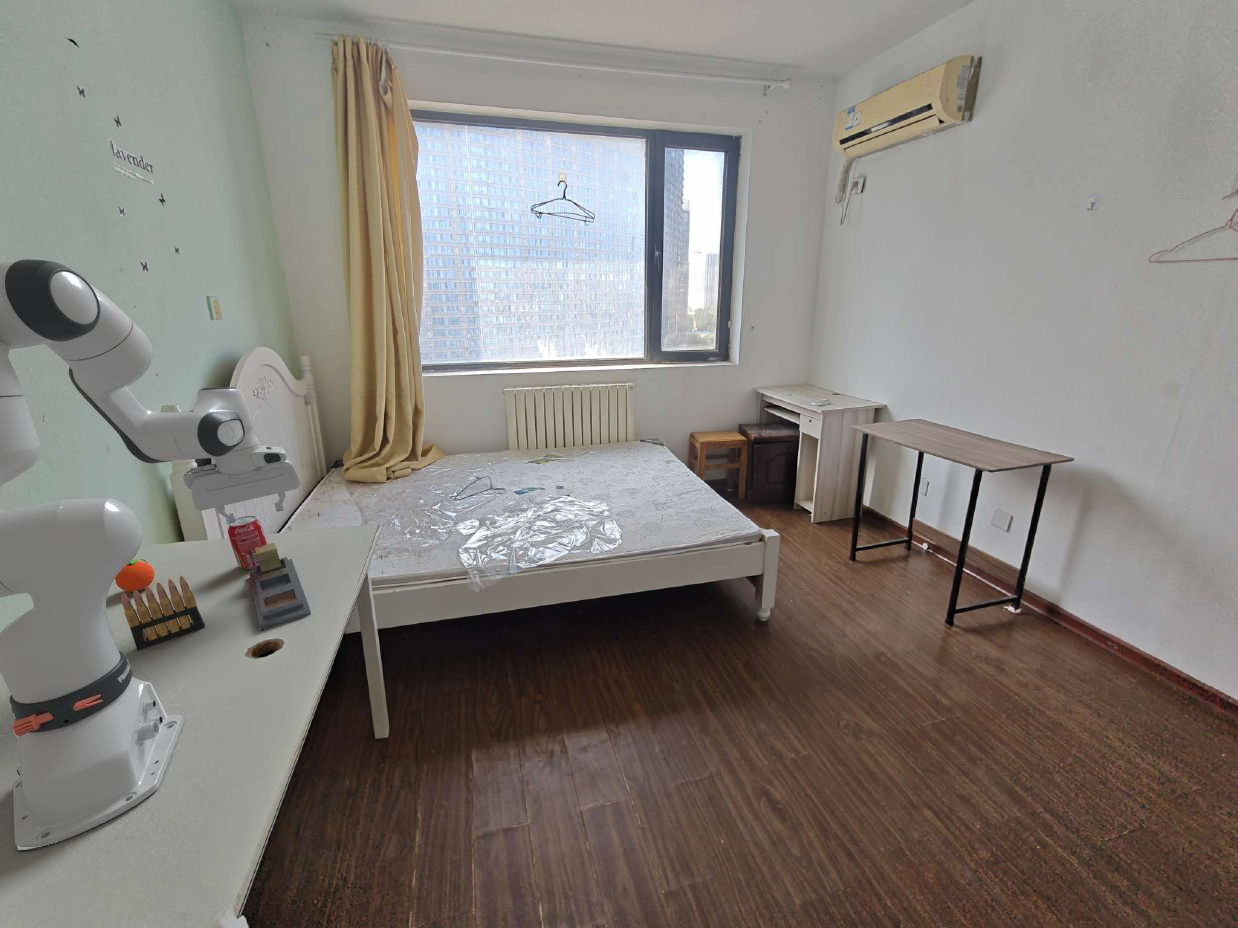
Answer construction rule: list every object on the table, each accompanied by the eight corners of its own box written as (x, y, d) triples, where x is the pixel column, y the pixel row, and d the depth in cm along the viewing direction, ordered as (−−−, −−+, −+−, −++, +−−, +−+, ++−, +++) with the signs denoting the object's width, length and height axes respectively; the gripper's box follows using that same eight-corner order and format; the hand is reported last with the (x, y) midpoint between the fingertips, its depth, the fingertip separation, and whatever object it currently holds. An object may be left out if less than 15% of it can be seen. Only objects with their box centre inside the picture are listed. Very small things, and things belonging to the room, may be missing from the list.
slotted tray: (311, 613, 114) (307, 600, 113) (260, 630, 109) (257, 617, 108) (293, 564, 136) (290, 553, 135) (250, 576, 131) (247, 565, 130)
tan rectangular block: (283, 573, 128) (276, 548, 126) (263, 578, 126) (256, 553, 124) (281, 566, 132) (274, 542, 129) (262, 572, 129) (254, 547, 127)
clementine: (137, 581, 132) (127, 554, 130) (168, 577, 133) (159, 551, 130) (112, 599, 124) (101, 571, 122) (145, 595, 125) (135, 568, 123)
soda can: (253, 557, 141) (241, 514, 137) (278, 557, 140) (266, 514, 136) (231, 570, 134) (217, 526, 130) (257, 571, 133) (244, 526, 129)
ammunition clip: (137, 650, 105) (115, 596, 101) (137, 646, 106) (116, 592, 103) (205, 627, 111) (186, 575, 108) (204, 623, 113) (186, 572, 109)
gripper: (180, 474, 112) (200, 534, 116) (293, 451, 123) (307, 508, 128) (181, 466, 117) (200, 525, 121) (289, 446, 128) (303, 500, 132)
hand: (256, 516), depth 124 cm, fingers open, 8 cm apart
